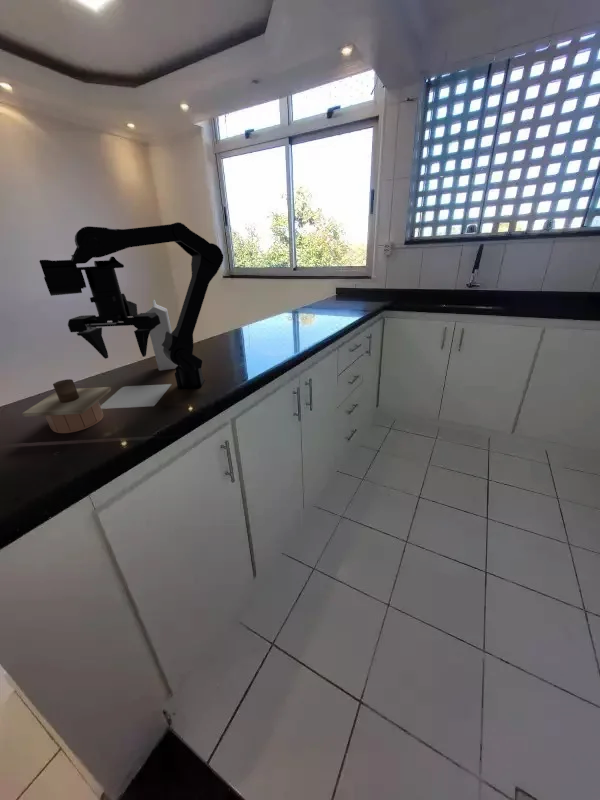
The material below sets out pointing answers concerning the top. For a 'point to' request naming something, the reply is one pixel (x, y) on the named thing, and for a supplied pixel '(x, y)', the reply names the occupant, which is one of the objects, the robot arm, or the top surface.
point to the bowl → (75, 420)
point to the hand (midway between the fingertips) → (125, 357)
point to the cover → (67, 400)
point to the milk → (161, 336)
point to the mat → (136, 396)
